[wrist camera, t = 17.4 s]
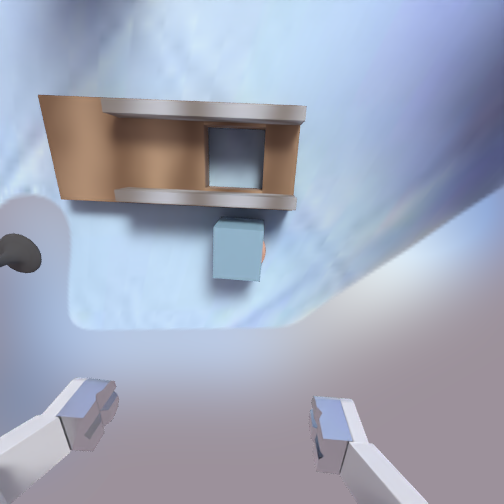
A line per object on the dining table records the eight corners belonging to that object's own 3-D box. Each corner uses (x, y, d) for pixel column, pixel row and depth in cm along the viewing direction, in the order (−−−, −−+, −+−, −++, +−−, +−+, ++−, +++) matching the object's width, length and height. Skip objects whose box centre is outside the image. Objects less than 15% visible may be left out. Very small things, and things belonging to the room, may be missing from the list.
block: (259, 281, 23) (264, 231, 22) (212, 277, 23) (213, 227, 22) (259, 263, 28) (263, 219, 26) (220, 260, 28) (221, 216, 26)
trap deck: (298, 110, 23) (307, 98, 19) (289, 207, 26) (295, 215, 22) (55, 100, 23) (10, 86, 19) (75, 196, 26) (40, 203, 22)
